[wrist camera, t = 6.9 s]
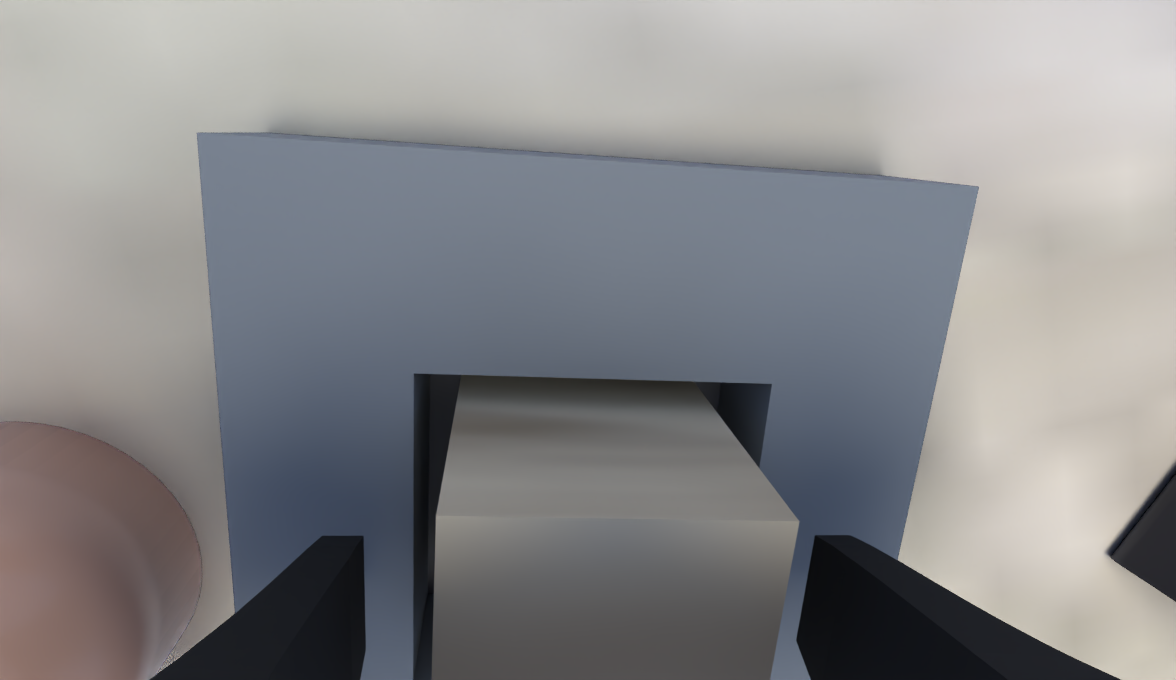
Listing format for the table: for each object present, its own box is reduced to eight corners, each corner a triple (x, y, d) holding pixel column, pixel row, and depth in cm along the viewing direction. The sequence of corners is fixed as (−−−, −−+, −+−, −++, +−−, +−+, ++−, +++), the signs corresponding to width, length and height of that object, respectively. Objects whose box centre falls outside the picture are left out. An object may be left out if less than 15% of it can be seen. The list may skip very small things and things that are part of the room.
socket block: (789, 698, 18) (843, 806, 15) (297, 713, 16) (252, 836, 14) (884, 175, 14) (979, 186, 11) (265, 132, 13) (196, 132, 10)
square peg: (660, 558, 16) (748, 799, 10) (457, 557, 15) (427, 811, 10) (684, 368, 15) (799, 521, 9) (464, 359, 14) (436, 515, 8)
